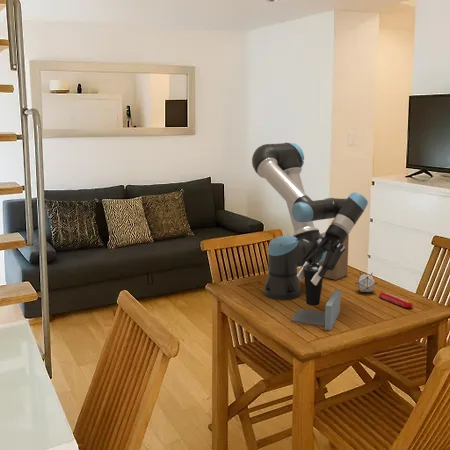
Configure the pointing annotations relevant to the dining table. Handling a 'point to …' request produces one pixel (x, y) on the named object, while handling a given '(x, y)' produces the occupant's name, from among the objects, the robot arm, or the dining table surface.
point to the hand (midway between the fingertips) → (306, 280)
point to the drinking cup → (310, 289)
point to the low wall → (332, 309)
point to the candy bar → (396, 300)
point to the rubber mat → (309, 317)
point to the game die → (366, 283)
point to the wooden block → (339, 263)
